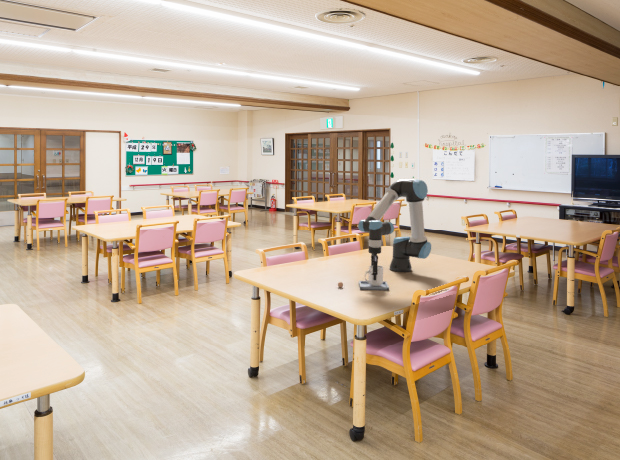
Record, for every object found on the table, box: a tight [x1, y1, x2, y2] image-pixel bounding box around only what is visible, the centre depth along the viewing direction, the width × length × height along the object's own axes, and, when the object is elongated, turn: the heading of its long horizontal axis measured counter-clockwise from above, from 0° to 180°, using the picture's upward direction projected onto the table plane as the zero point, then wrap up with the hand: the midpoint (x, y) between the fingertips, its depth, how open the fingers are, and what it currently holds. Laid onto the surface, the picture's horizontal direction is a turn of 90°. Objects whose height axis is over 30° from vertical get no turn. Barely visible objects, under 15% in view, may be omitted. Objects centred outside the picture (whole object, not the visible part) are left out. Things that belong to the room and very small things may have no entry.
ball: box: [337, 281, 344, 288], centre depth 292 cm, size 3×3×3 cm
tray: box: [358, 280, 390, 291], centre depth 294 cm, size 17×14×2 cm
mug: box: [364, 265, 384, 286], centre depth 293 cm, size 9×12×11 cm
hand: (373, 283), depth 294 cm, fingers open, 9 cm apart
